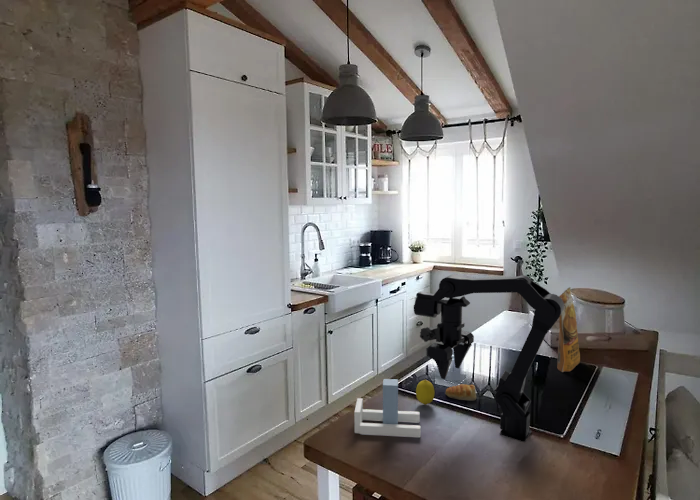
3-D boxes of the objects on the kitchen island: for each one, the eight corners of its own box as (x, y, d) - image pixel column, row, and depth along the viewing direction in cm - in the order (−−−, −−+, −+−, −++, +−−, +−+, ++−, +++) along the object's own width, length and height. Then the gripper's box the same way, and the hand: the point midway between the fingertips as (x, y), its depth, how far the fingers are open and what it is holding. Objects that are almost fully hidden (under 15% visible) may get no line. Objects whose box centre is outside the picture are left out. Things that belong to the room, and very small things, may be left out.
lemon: (434, 410, 132) (434, 384, 131) (415, 408, 133) (415, 383, 132) (434, 401, 138) (434, 376, 137) (416, 400, 139) (416, 375, 138)
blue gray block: (397, 423, 125) (398, 379, 123) (397, 431, 121) (397, 385, 119) (383, 423, 125) (383, 378, 124) (382, 430, 121) (382, 385, 120)
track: (419, 420, 127) (419, 400, 126) (420, 437, 118) (420, 416, 117) (357, 417, 129) (357, 397, 128) (354, 434, 120) (354, 412, 119)
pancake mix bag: (547, 370, 160) (551, 294, 156) (565, 355, 174) (569, 285, 170) (567, 375, 155) (572, 296, 152) (584, 360, 169) (588, 287, 165)
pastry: (446, 401, 138) (447, 389, 138) (444, 391, 145) (444, 380, 145) (477, 401, 138) (478, 390, 137) (473, 392, 144) (473, 380, 144)
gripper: (440, 308, 137) (439, 357, 139) (409, 322, 122) (408, 377, 124) (475, 314, 130) (473, 365, 132) (446, 330, 115) (445, 387, 118)
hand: (450, 373), depth 127 cm, fingers open, 9 cm apart
